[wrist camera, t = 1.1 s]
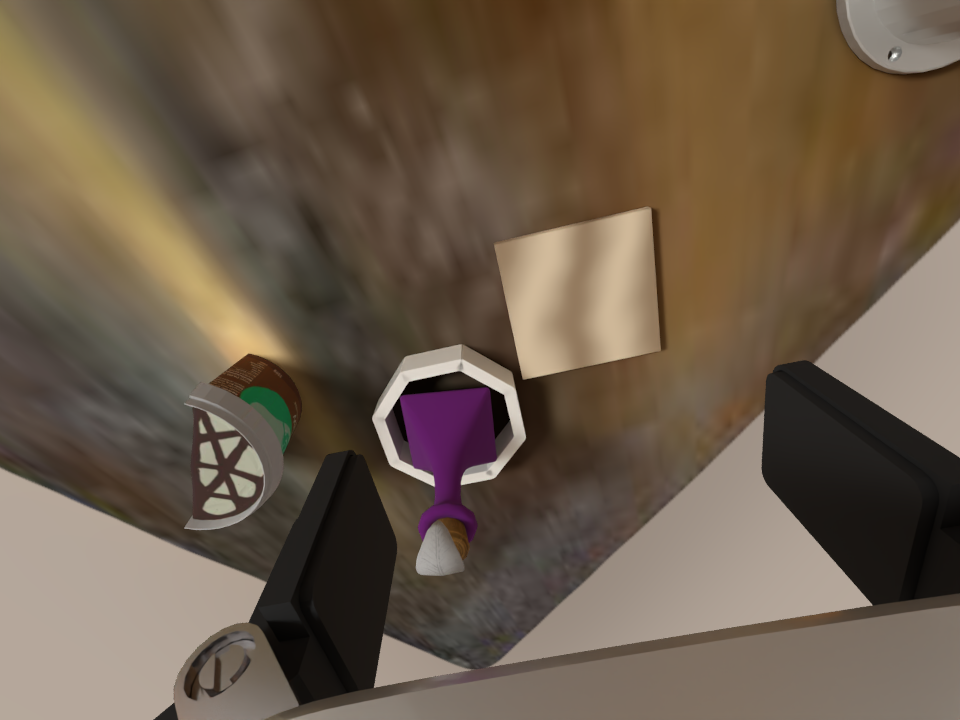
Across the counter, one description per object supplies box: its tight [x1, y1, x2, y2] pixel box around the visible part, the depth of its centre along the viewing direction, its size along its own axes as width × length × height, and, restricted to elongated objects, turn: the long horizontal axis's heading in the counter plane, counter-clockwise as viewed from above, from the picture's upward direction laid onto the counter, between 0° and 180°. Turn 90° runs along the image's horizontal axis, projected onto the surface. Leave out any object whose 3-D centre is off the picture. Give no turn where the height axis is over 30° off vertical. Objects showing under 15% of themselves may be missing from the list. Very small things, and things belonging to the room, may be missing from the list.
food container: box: [184, 354, 302, 530], centre depth 38 cm, size 12×6×10 cm, turn 165°
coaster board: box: [494, 207, 661, 380], centre depth 38 cm, size 12×12×1 cm
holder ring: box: [372, 344, 526, 487], centre depth 41 cm, size 12×12×3 cm
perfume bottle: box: [400, 387, 497, 576], centre depth 35 cm, size 8×8×18 cm
